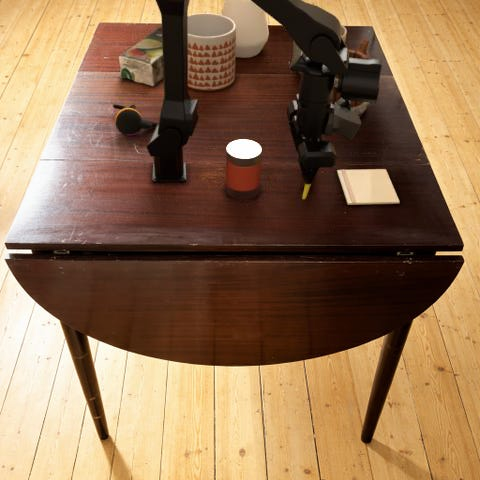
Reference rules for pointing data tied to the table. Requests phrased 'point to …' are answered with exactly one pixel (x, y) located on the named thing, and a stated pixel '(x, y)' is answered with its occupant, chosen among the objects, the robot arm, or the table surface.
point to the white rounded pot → (247, 26)
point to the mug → (355, 105)
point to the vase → (211, 51)
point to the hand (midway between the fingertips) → (305, 173)
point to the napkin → (367, 187)
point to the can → (243, 169)
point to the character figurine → (131, 120)
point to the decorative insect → (306, 190)
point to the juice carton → (144, 60)
